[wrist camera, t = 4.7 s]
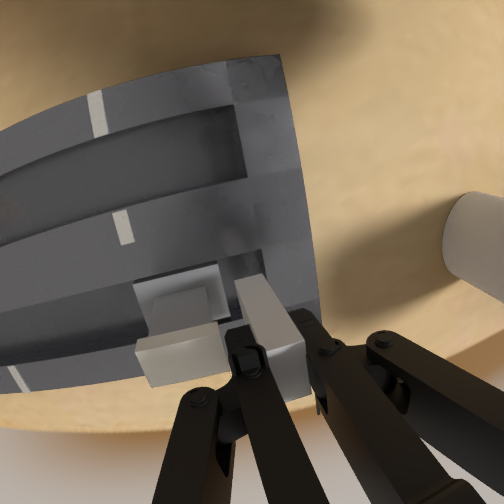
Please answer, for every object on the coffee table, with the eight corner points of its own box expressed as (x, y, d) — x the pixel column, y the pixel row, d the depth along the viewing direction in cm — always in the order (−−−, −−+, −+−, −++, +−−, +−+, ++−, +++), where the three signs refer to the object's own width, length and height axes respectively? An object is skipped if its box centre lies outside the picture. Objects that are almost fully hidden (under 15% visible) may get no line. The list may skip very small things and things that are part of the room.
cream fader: (135, 275, 19) (113, 341, 12) (215, 256, 19) (232, 314, 12) (152, 323, 20) (142, 401, 13) (227, 305, 20) (249, 378, 14)
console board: (-101, 206, 14) (-122, 213, 11) (267, 66, 18) (280, 53, 15) (-34, 378, 19) (-46, 396, 17) (308, 311, 23) (323, 331, 21)
